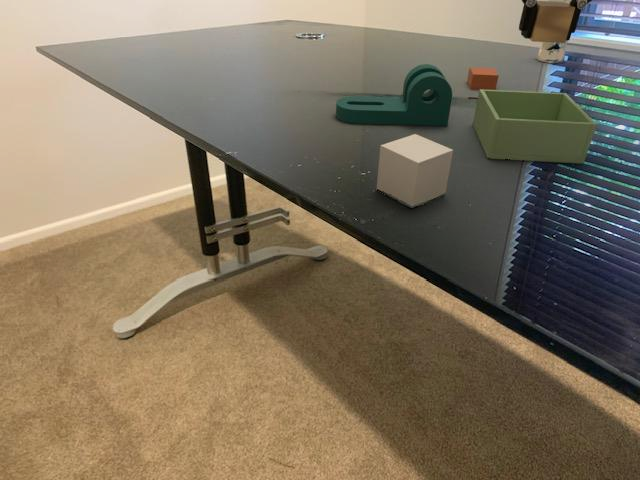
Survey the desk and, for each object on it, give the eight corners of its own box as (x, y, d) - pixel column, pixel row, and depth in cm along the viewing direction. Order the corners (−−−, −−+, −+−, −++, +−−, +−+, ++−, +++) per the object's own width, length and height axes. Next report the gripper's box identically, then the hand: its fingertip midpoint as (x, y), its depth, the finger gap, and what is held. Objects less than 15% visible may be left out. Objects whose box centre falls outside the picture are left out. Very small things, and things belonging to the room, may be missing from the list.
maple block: (555, 35, 72) (565, 1, 70) (565, 43, 69) (575, 7, 66) (523, 34, 73) (531, 0, 70) (531, 41, 69) (540, 5, 67)
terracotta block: (489, 92, 96) (494, 68, 94) (493, 100, 92) (498, 75, 90) (465, 91, 96) (469, 67, 94) (468, 98, 93) (473, 74, 90)
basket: (555, 128, 81) (566, 93, 78) (583, 164, 70) (597, 124, 67) (472, 124, 82) (479, 89, 79) (487, 158, 71) (496, 119, 68)
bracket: (440, 111, 87) (447, 64, 82) (447, 125, 81) (455, 76, 77) (335, 108, 87) (337, 62, 83) (336, 123, 81) (337, 73, 77)
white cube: (445, 195, 62) (453, 149, 59) (411, 210, 59) (418, 163, 56) (409, 177, 66) (415, 133, 63) (376, 190, 63) (380, 145, 59)
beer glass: (566, 65, 113) (587, -9, 105) (533, 62, 115) (551, -11, 107) (565, 58, 119) (585, -13, 110) (534, 55, 121) (551, -15, 112)
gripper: (645, -120, 63) (596, 34, 73) (507, -124, 64) (478, 29, 74) (674, -122, 57) (617, 46, 67) (521, -126, 58) (487, 40, 68)
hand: (544, 36), depth 71 cm, fingers closed on maple block, 4 cm apart
